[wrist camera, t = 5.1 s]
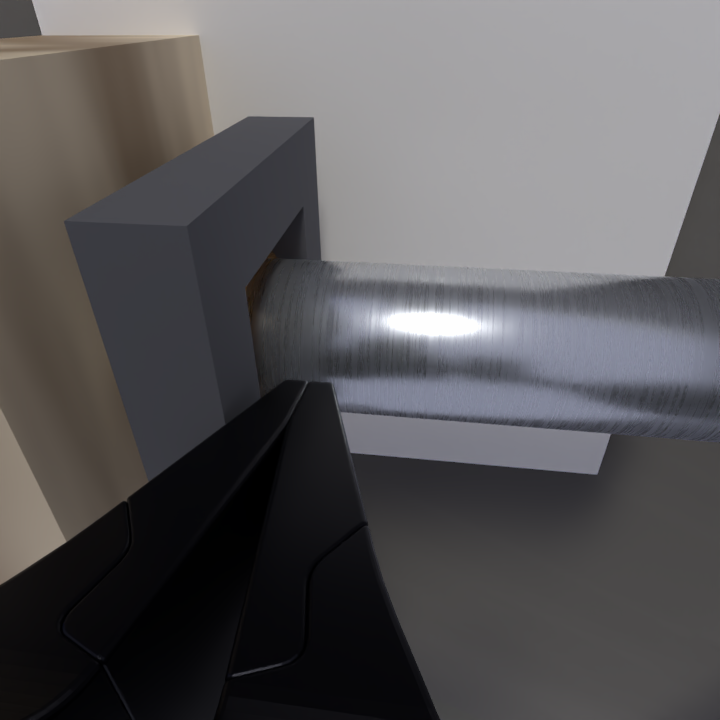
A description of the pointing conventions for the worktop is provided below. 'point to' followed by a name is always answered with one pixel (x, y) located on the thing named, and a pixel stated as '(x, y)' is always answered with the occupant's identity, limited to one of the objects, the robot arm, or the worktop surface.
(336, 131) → the mat
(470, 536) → the worktop surface
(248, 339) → the collar
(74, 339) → the mount block
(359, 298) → the cylinder
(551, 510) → the worktop surface
